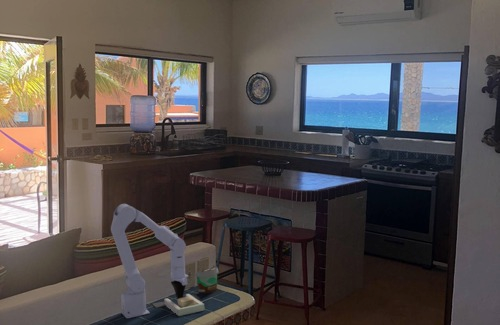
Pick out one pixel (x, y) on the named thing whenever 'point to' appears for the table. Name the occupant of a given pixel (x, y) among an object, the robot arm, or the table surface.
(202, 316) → the table surface
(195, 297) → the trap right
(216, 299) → the table surface
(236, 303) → the table surface
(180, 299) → the birch block
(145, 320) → the table surface
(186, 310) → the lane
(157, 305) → the plate
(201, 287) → the food container
